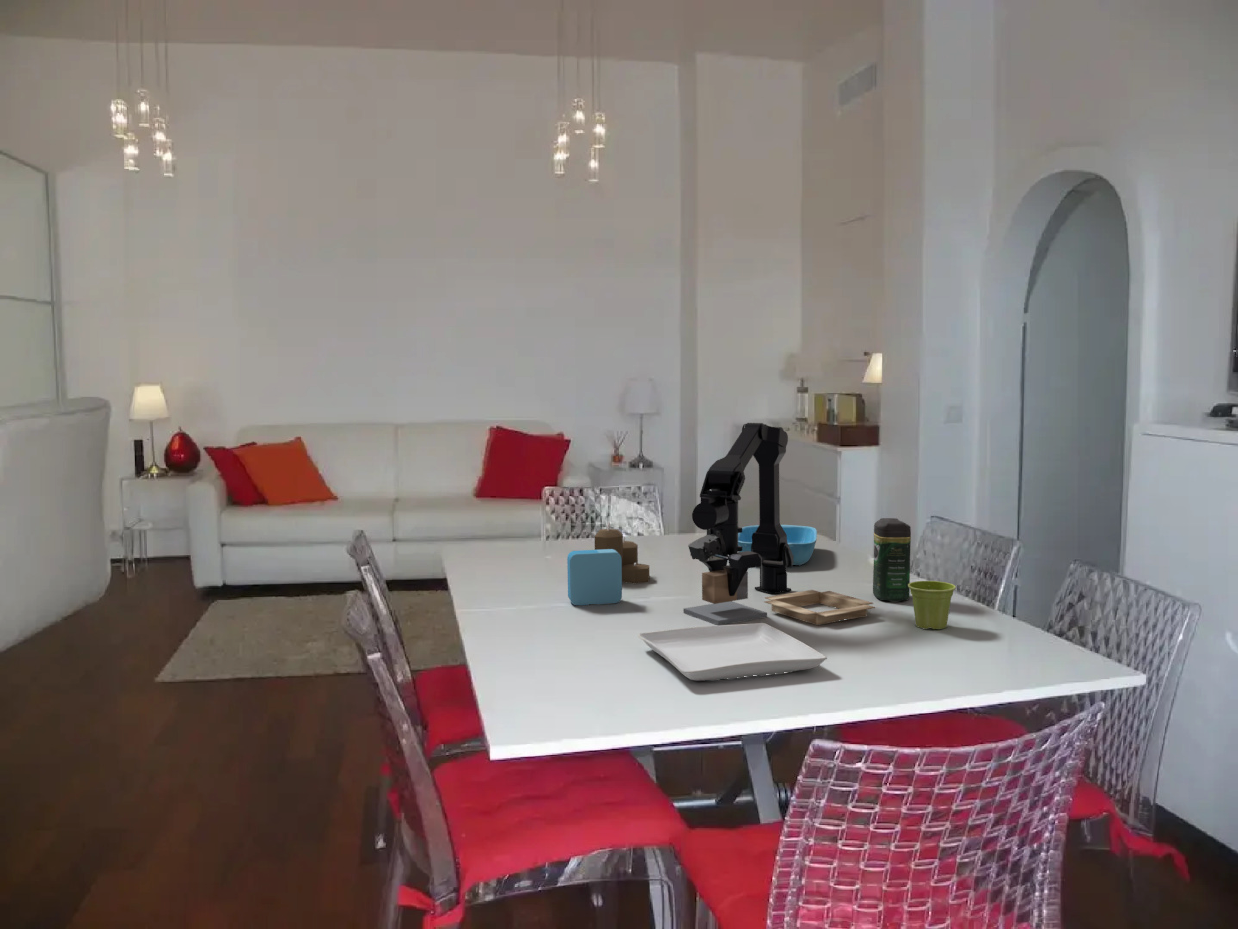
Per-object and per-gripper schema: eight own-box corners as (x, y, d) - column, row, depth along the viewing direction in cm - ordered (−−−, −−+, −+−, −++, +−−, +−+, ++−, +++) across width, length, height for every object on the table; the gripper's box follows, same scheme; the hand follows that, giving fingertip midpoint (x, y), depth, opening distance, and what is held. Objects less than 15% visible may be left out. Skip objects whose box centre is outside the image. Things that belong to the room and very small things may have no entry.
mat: (683, 612, 226) (683, 608, 226) (730, 605, 233) (730, 600, 232) (718, 625, 215) (718, 620, 215) (767, 617, 221) (767, 612, 221)
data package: (618, 599, 240) (618, 548, 239) (622, 603, 236) (621, 552, 235) (567, 601, 238) (567, 550, 237) (570, 606, 233) (569, 554, 232)
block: (702, 599, 223) (702, 572, 222) (735, 594, 228) (735, 568, 227) (714, 604, 219) (714, 576, 219) (747, 598, 224) (747, 571, 223)
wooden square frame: (755, 609, 228) (755, 598, 228) (820, 599, 238) (820, 588, 237) (816, 629, 211) (816, 617, 211) (883, 617, 220) (883, 605, 220)
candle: (606, 587, 253) (605, 527, 252) (584, 576, 266) (584, 519, 264) (655, 581, 259) (654, 523, 257) (632, 571, 271) (631, 515, 270)
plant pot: (930, 634, 206) (931, 592, 205) (897, 624, 214) (898, 583, 213) (964, 628, 210) (965, 587, 209) (931, 618, 219) (932, 578, 218)
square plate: (829, 676, 181) (830, 655, 180) (684, 692, 173) (684, 670, 172) (765, 637, 206) (765, 619, 206) (635, 650, 199) (635, 630, 198)
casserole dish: (741, 545, 310) (741, 521, 309) (816, 546, 306) (816, 523, 305) (732, 569, 274) (732, 543, 273) (817, 571, 270) (817, 545, 269)
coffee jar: (913, 602, 233) (914, 522, 231) (878, 602, 233) (879, 522, 232) (903, 593, 243) (904, 515, 241) (869, 593, 243) (870, 516, 241)
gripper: (670, 520, 226) (670, 590, 227) (720, 532, 210) (720, 607, 211) (711, 516, 231) (711, 584, 233) (763, 527, 215) (763, 600, 217)
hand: (725, 593), depth 223 cm, fingers closed on block, 4 cm apart
